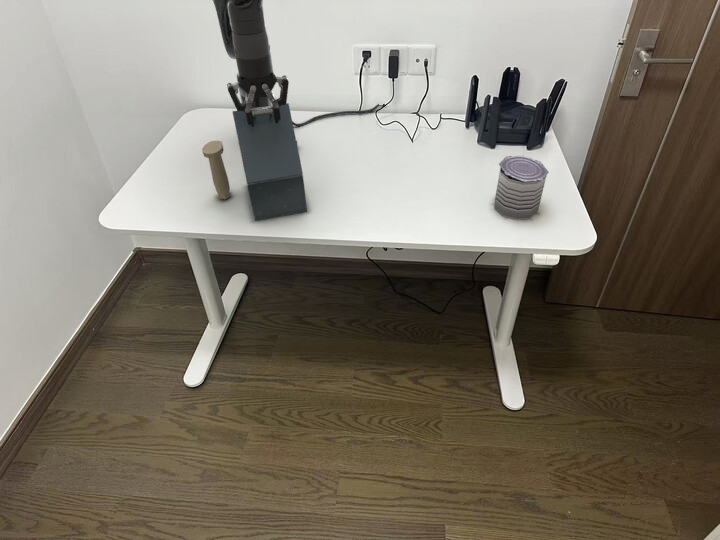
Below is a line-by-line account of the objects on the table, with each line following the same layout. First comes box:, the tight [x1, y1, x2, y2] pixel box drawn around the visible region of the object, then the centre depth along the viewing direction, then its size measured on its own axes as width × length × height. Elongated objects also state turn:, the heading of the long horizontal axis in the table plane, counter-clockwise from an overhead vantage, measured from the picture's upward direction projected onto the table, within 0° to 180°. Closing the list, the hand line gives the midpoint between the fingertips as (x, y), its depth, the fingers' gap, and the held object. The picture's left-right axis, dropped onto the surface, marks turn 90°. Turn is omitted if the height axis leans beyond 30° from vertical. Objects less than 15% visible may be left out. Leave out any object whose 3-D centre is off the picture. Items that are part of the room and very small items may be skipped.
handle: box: [201, 140, 231, 200], centre depth 137 cm, size 5×6×15 cm
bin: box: [246, 174, 308, 222], centre depth 137 cm, size 17×14×11 cm
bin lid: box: [232, 102, 304, 185], centre depth 125 cm, size 18×14×5 cm
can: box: [493, 155, 550, 221], centre depth 130 cm, size 11×11×12 cm
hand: (264, 123), depth 124 cm, fingers closed on bin lid, 5 cm apart
